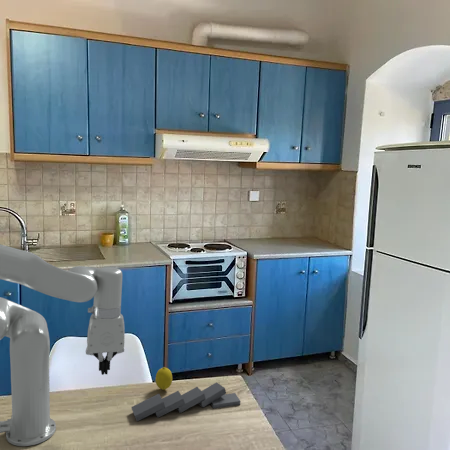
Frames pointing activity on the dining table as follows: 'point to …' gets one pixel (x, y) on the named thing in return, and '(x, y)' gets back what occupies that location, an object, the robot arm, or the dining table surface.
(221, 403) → the domino
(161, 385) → the lemon
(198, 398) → the domino
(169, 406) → the domino
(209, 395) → the domino
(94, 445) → the dining table surface
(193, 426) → the dining table surface
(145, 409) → the domino
